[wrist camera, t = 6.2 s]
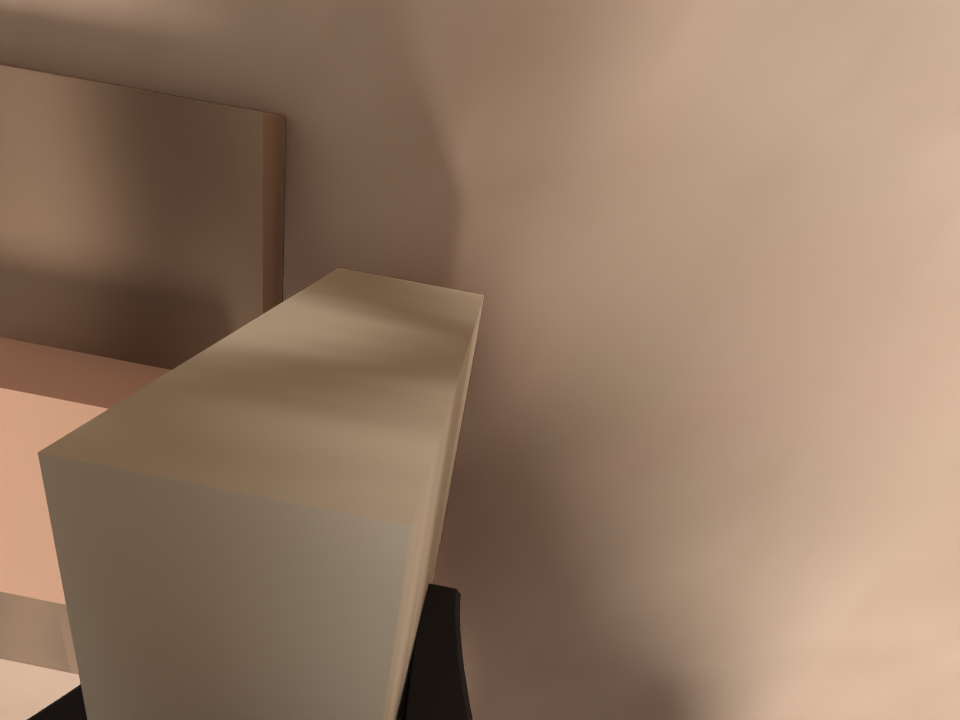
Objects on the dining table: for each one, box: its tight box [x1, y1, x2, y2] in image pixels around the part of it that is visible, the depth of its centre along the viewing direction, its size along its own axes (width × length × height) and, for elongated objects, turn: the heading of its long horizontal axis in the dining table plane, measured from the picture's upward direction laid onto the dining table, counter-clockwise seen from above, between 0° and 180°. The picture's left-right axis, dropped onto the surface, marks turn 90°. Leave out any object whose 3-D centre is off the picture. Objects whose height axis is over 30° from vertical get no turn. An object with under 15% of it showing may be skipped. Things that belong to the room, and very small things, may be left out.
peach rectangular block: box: [0, 337, 171, 605], centre depth 13 cm, size 6×6×2 cm
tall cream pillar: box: [38, 267, 484, 720], centre depth 10 cm, size 3×12×7 cm, turn 171°
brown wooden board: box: [0, 64, 285, 674], centre depth 14 cm, size 15×18×1 cm
